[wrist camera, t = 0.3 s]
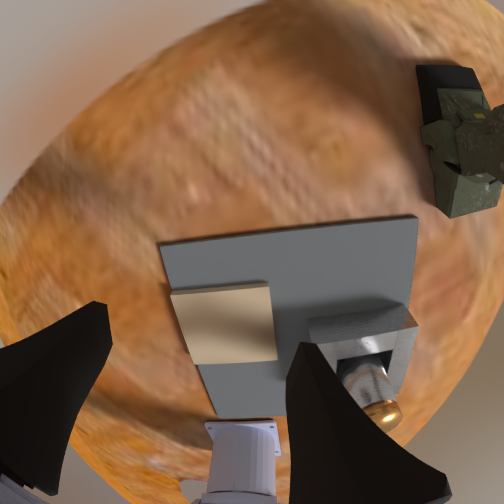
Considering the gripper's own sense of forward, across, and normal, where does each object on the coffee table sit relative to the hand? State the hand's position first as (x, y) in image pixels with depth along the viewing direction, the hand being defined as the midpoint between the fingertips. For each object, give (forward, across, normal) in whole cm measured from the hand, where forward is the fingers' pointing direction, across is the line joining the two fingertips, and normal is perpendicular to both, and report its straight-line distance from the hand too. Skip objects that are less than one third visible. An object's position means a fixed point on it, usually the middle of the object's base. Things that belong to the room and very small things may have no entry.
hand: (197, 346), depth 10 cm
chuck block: (+10, -12, +7) cm, 17 cm away
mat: (+10, -7, +8) cm, 15 cm away
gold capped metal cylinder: (+10, -12, +7) cm, 17 cm away
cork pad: (+10, -1, +7) cm, 12 cm away
